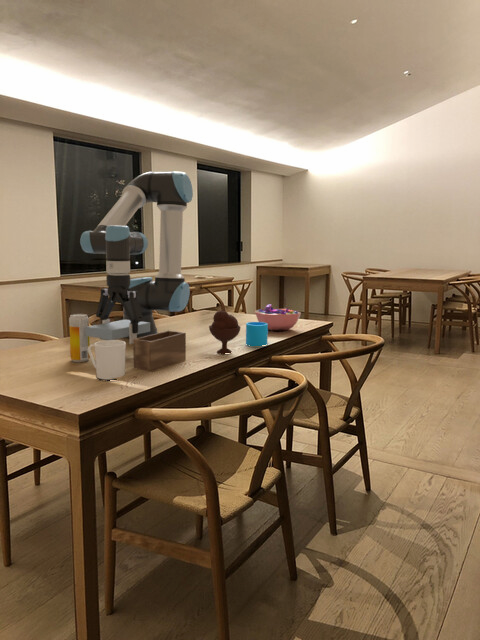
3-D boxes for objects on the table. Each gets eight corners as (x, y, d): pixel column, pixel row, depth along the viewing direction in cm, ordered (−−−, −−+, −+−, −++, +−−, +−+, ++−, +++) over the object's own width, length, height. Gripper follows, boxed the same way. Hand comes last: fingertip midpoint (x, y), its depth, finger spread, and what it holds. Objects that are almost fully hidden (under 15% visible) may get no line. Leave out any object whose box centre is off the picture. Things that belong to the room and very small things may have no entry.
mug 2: (260, 348, 198) (260, 326, 196) (241, 345, 202) (242, 324, 201) (276, 342, 208) (276, 321, 206) (257, 340, 212) (258, 319, 211)
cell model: (299, 335, 223) (300, 308, 221) (251, 332, 226) (252, 306, 224) (301, 327, 240) (302, 302, 238) (256, 325, 243) (257, 301, 241)
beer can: (82, 357, 180) (81, 313, 177) (93, 360, 176) (92, 315, 173) (66, 360, 175) (65, 315, 173) (77, 363, 171) (76, 317, 169)
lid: (86, 339, 171) (86, 326, 170) (125, 330, 186) (125, 319, 186) (112, 343, 165) (111, 330, 165) (150, 334, 181) (150, 322, 180)
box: (133, 371, 163) (133, 339, 162) (168, 360, 178) (168, 330, 176) (151, 374, 160) (151, 342, 158) (185, 363, 174) (185, 332, 173)
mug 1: (129, 373, 161) (128, 340, 159) (123, 382, 152) (122, 346, 150) (92, 373, 160) (91, 339, 159) (84, 381, 152) (83, 346, 150)
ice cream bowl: (213, 357, 183) (213, 313, 180) (206, 349, 193) (206, 308, 191) (243, 355, 186) (243, 312, 183) (234, 348, 196) (235, 308, 194)
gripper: (83, 272, 175) (85, 338, 179) (138, 276, 163) (139, 347, 167) (100, 271, 182) (101, 335, 185) (154, 275, 170) (154, 343, 173)
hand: (119, 341), depth 176 cm, fingers closed on lid, 11 cm apart
